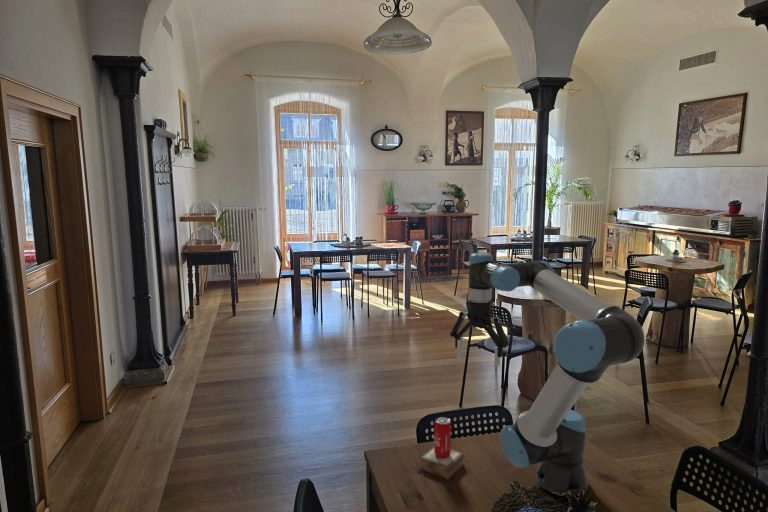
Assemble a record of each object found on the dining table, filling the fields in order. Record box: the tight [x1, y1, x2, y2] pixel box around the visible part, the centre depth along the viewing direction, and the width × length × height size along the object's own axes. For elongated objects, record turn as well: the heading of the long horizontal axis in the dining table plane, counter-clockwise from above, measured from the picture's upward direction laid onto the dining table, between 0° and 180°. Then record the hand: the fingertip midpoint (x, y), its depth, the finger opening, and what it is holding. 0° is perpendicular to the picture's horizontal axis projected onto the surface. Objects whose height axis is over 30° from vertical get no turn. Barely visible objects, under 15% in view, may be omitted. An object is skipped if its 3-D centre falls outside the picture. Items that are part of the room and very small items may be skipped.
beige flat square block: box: [420, 446, 464, 480], centre depth 166 cm, size 10×10×4 cm
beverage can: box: [433, 416, 452, 459], centre depth 164 cm, size 5×5×12 cm
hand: (478, 361), depth 171 cm, fingers open, 13 cm apart
